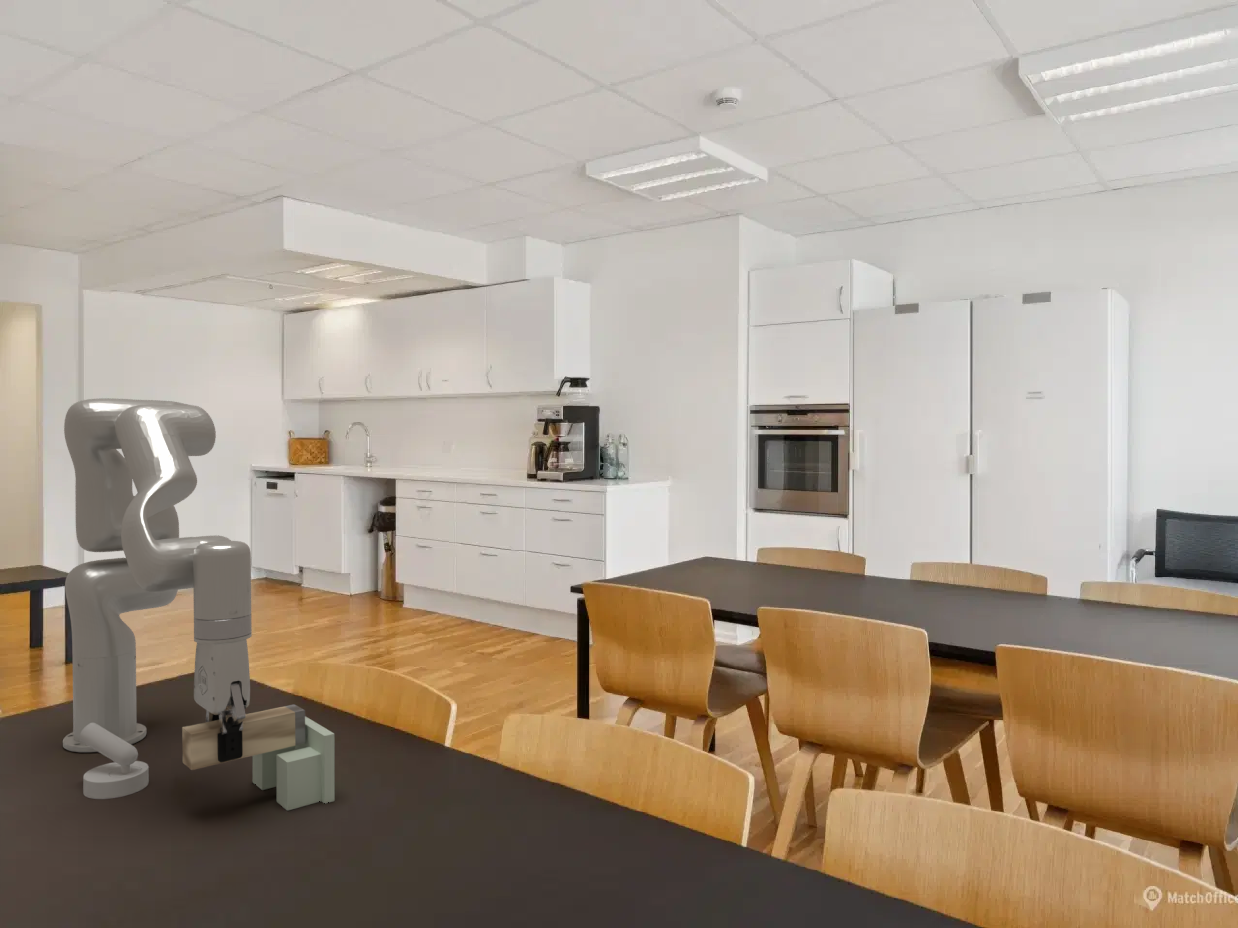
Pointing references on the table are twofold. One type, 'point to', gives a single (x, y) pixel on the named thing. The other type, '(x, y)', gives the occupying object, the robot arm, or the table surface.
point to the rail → (245, 735)
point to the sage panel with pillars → (300, 769)
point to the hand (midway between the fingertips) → (224, 753)
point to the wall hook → (112, 766)
